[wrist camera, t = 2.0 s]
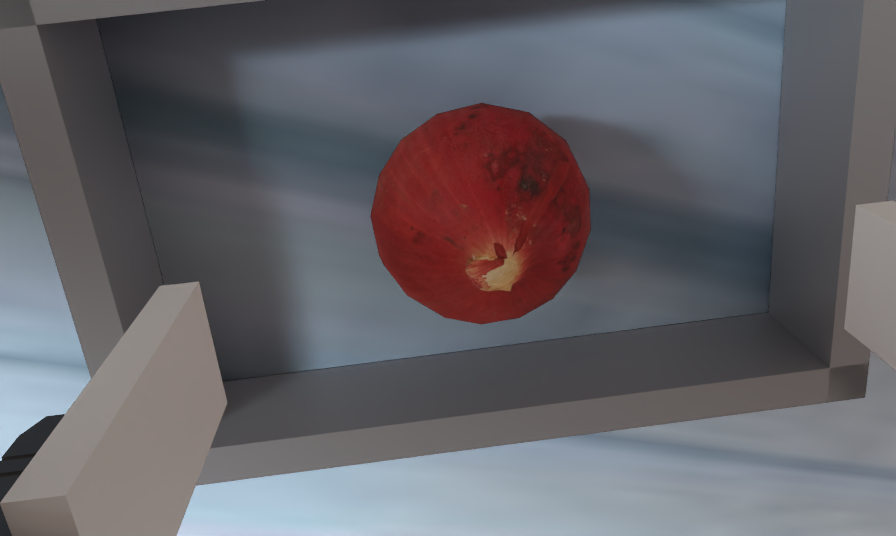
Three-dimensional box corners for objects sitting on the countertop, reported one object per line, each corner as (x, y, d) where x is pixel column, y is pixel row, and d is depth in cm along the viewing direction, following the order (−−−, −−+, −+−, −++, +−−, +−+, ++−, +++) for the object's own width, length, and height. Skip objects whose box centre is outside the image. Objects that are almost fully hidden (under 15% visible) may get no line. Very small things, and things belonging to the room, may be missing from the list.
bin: (162, 420, 27) (126, 494, 23) (38, -27, 21) (-33, -24, 18) (799, 339, 28) (865, 397, 24) (833, -111, 22) (924, -126, 19)
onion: (445, 46, 23) (477, 85, 16) (594, 154, 25) (687, 237, 17) (338, 203, 24) (320, 308, 17) (485, 296, 26) (527, 429, 19)
